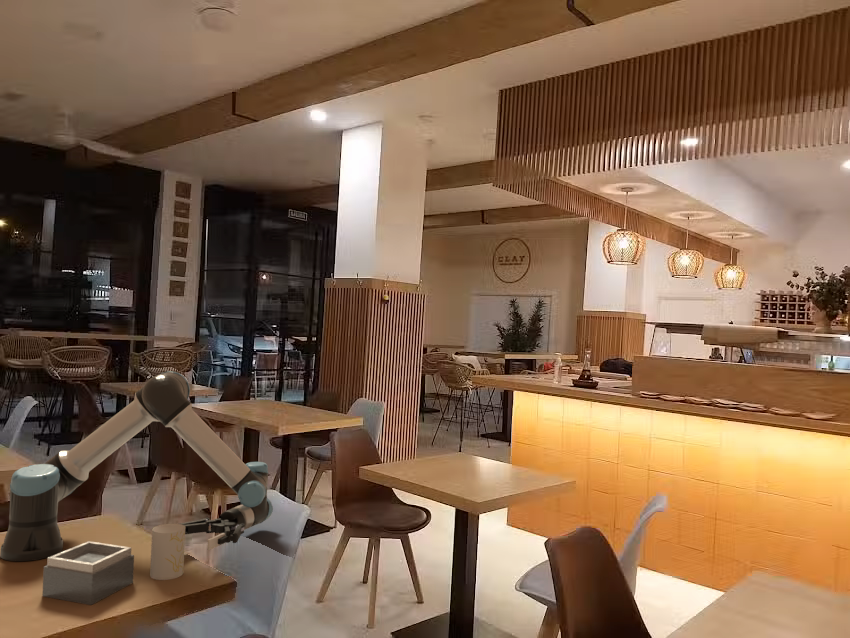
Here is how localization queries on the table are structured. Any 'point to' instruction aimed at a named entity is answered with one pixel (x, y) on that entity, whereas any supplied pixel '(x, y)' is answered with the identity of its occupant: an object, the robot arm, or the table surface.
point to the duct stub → (88, 572)
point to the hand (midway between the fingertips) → (188, 541)
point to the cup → (167, 551)
